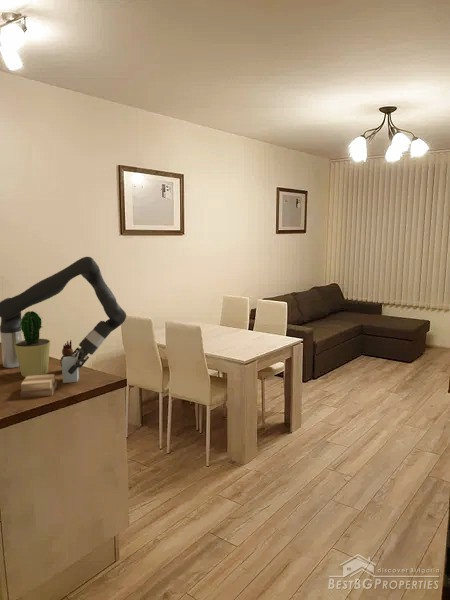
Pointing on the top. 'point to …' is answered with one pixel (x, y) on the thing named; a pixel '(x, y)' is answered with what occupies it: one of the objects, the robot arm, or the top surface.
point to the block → (66, 365)
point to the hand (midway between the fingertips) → (67, 370)
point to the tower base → (39, 392)
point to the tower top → (38, 382)
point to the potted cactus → (32, 347)
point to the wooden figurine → (66, 351)
